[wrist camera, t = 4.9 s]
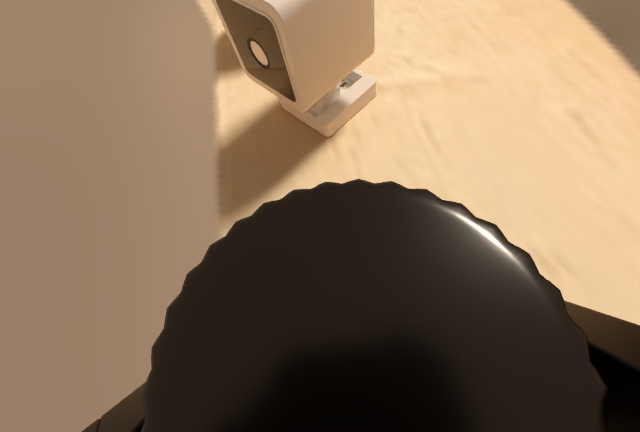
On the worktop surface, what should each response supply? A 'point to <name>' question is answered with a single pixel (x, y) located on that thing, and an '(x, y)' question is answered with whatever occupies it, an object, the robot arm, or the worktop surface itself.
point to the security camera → (306, 54)
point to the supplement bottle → (370, 326)
